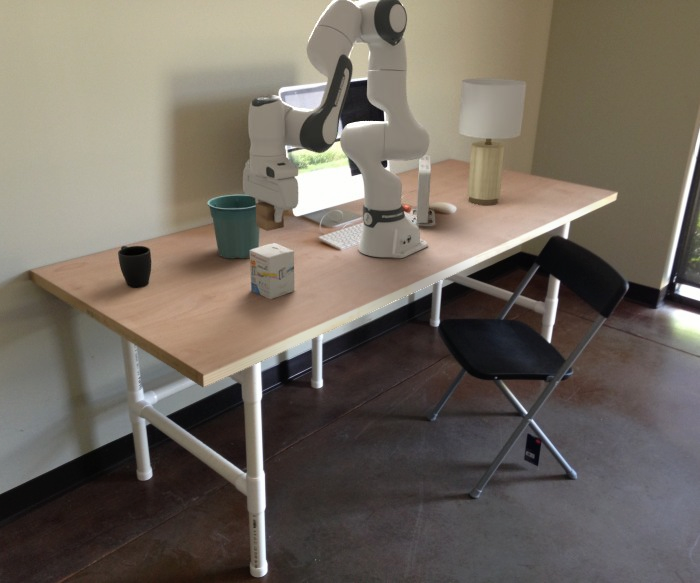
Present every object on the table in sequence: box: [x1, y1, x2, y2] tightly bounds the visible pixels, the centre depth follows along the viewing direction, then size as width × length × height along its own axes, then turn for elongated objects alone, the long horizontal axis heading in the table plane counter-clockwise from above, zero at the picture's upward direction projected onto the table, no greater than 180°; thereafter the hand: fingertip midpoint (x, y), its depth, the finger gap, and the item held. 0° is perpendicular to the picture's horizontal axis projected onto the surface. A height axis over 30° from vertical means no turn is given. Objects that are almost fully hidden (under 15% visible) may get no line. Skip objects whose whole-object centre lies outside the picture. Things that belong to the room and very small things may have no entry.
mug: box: [117, 245, 152, 289], centre depth 183 cm, size 8×12×10 cm
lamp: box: [458, 77, 527, 206], centre depth 253 cm, size 23×23×44 cm
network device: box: [409, 154, 436, 227], centre depth 237 cm, size 26×9×20 cm, turn 175°
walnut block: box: [256, 202, 285, 232], centre depth 172 cm, size 5×5×6 cm
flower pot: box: [207, 194, 260, 260], centre depth 203 cm, size 16×16×16 cm
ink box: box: [249, 242, 296, 300], centre depth 178 cm, size 9×8×12 cm
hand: (270, 218), depth 172 cm, fingers closed on walnut block, 5 cm apart
